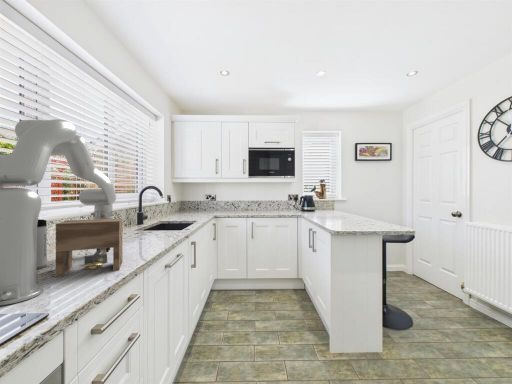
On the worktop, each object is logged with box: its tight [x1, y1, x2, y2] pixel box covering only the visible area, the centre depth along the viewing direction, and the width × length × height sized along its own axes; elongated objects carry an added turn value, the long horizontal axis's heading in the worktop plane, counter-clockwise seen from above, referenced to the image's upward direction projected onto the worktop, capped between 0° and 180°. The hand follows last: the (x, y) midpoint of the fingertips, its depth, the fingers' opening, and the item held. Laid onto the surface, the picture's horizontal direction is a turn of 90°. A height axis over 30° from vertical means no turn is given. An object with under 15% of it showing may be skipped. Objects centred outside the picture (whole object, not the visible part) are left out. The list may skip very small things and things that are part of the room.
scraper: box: [84, 248, 108, 266], centre depth 113 cm, size 19×8×7 cm, turn 23°
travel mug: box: [36, 218, 48, 271], centre depth 98 cm, size 6×7×20 cm
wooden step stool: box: [55, 218, 124, 278], centre depth 97 cm, size 13×20×19 cm, turn 113°
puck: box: [84, 262, 103, 270], centre depth 99 cm, size 6×6×2 cm
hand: (103, 251), depth 120 cm, fingers closed on scraper, 2 cm apart
